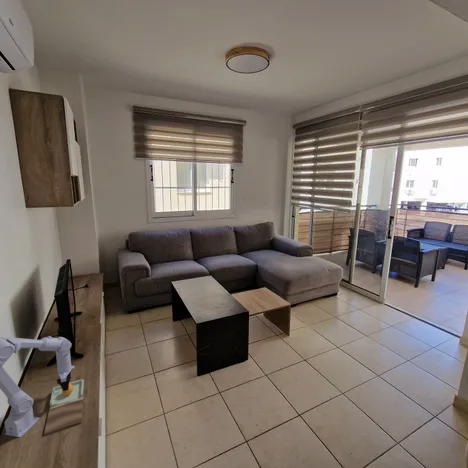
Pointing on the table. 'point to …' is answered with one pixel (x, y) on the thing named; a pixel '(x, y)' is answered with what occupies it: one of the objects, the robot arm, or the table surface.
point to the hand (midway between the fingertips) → (66, 384)
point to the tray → (60, 398)
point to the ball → (68, 390)
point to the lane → (64, 416)
